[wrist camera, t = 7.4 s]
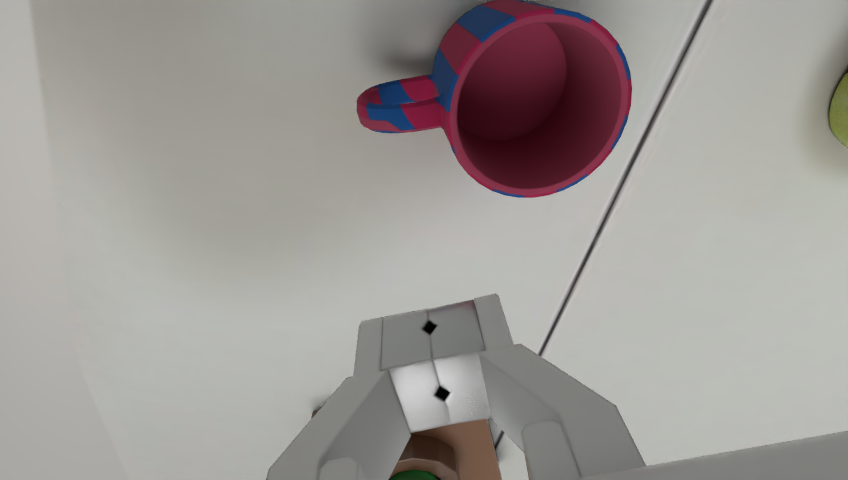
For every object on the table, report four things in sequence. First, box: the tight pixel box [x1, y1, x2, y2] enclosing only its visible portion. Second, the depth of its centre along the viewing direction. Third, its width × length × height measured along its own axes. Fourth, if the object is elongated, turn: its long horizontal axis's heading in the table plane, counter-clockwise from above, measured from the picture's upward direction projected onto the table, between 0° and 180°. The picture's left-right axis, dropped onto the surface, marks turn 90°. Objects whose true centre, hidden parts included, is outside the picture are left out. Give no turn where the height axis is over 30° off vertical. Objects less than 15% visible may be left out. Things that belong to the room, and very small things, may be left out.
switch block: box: [312, 411, 502, 480], centre depth 34 cm, size 12×10×4 cm
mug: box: [357, 0, 632, 197], centre depth 20 cm, size 7×10×7 cm
